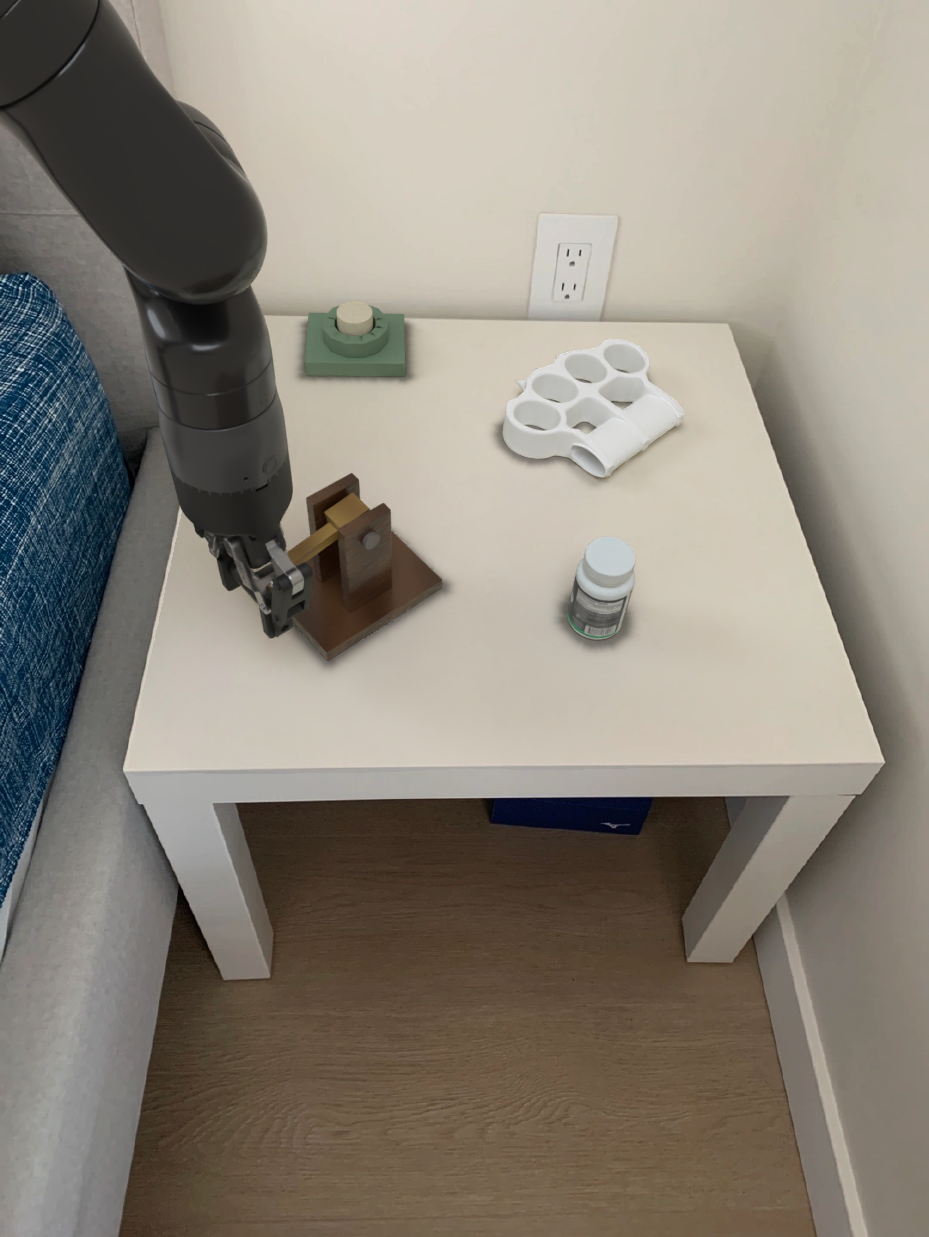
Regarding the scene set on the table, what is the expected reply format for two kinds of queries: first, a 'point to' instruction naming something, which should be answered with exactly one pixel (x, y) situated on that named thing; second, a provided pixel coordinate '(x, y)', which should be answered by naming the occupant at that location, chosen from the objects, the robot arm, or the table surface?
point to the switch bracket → (359, 575)
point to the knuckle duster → (590, 408)
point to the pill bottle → (602, 588)
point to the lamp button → (354, 318)
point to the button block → (355, 347)
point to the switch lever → (317, 536)
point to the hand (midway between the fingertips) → (257, 606)
